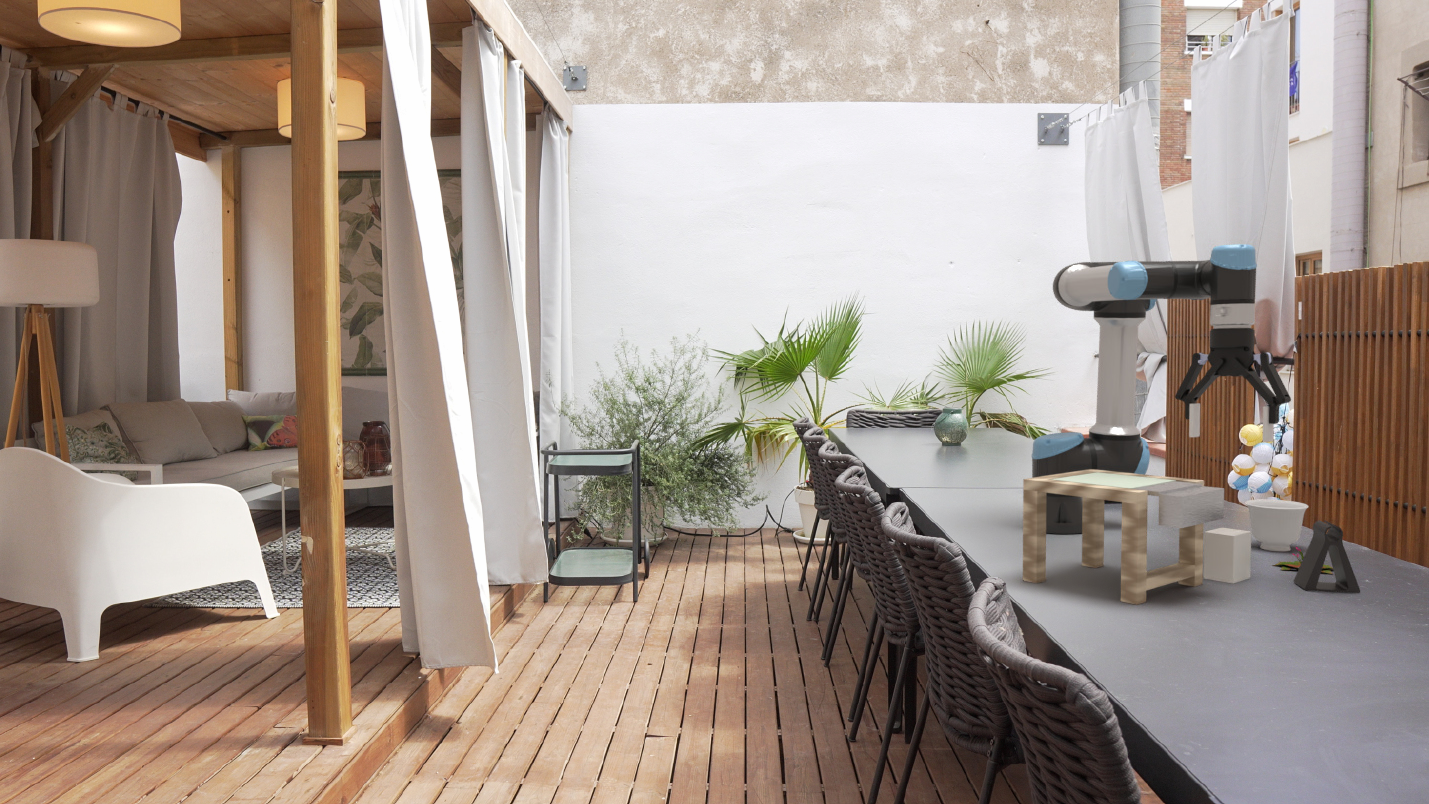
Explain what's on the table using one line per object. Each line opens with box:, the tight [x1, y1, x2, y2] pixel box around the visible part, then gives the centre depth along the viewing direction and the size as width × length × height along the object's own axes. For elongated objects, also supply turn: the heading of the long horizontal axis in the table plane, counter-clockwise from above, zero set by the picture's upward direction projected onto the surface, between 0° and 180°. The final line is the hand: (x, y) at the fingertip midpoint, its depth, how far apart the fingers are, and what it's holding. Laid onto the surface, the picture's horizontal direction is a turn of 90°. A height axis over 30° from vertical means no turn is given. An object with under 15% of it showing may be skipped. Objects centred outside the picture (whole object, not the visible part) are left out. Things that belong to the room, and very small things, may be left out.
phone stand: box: [1293, 519, 1361, 594], centre depth 178 cm, size 9×6×12 cm, turn 76°
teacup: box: [1244, 498, 1309, 553], centre depth 214 cm, size 12×15×10 cm
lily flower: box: [1271, 546, 1334, 575], centre depth 194 cm, size 12×12×5 cm
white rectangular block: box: [1203, 527, 1252, 584], centre depth 187 cm, size 6×7×9 cm
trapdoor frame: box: [1022, 469, 1205, 606], centre depth 184 cm, size 23×23×20 cm
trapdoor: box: [1050, 472, 1225, 529], centre depth 180 cm, size 25×16×6 cm, turn 37°
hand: (1230, 439), depth 185 cm, fingers open, 13 cm apart
